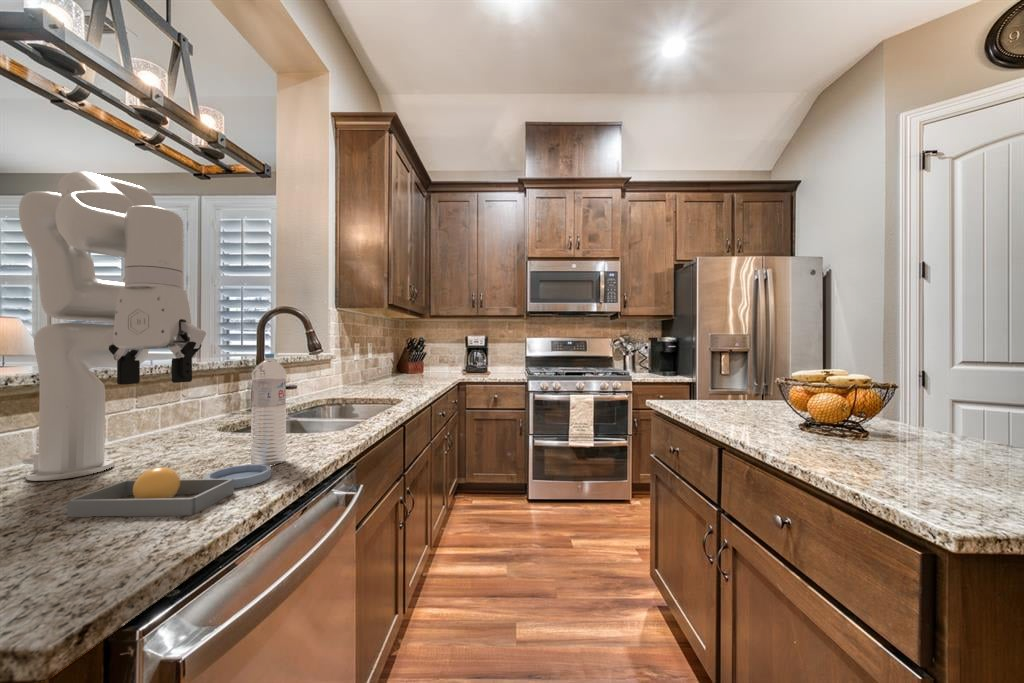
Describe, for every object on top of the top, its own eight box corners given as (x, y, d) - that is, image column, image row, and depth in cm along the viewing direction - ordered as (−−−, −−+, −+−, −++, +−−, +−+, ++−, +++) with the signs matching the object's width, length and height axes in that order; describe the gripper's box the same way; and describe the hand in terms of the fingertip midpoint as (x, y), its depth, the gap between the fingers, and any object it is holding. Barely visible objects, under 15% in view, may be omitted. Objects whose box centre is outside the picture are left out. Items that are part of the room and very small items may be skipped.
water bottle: (269, 468, 88) (270, 353, 88) (242, 467, 89) (244, 353, 90) (292, 460, 95) (293, 353, 95) (267, 458, 96) (268, 353, 97)
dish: (190, 490, 74) (190, 480, 74) (229, 472, 85) (229, 464, 85) (250, 489, 75) (250, 480, 75) (281, 471, 86) (281, 463, 86)
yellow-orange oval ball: (121, 511, 65) (122, 473, 65) (153, 497, 71) (154, 463, 71) (160, 510, 65) (160, 473, 65) (188, 497, 71) (189, 462, 71)
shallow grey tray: (64, 517, 62) (65, 501, 62) (125, 494, 73) (126, 480, 73) (192, 515, 63) (192, 499, 63) (235, 492, 73) (235, 478, 73)
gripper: (83, 280, 66) (82, 386, 65) (182, 274, 64) (183, 383, 63) (131, 288, 73) (130, 383, 72) (220, 283, 72) (221, 380, 71)
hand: (155, 383), depth 68 cm, fingers open, 9 cm apart
